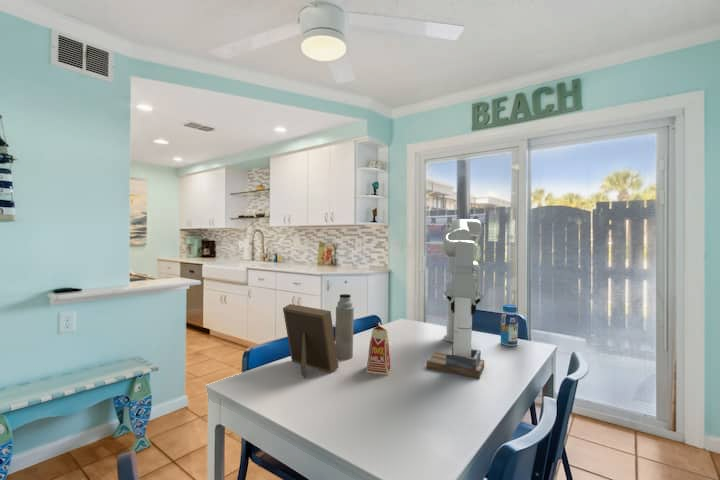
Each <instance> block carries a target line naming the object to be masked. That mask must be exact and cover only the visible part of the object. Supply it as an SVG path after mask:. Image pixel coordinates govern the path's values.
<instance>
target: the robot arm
mask: <svg viewBox="0 0 720 480" xmlns="http://www.w3.org/2000/svg"><path fill="white" fill-rule="evenodd" d="M482 230H483V227H482V222H481V221H480V220H478V219H475V218H470V219H469V218H458V219H455V220H454V221H453V222H452V224H451V226H450V227H448V228H446V229H445V231H444V237H443V239H442V240H443V241H442V252H443V255H444V256H446V257H448V273H449V276H450V277H451V280H450V281H448V282H447V283H446V284H445V291H444V292H443V294H444V296H445V297H446V334H445V335H444V336H443V337H442V339H443V340H444V341H446V342H448V343H452V344H454V305H455V297H462V298H471V301H472V312H471V314H472V316H474V315H475V314H476V313H477V304H479V303H480V302H481V301H482V300H483V299H484V298H485V295H484V294H483V293H482V292H481V266H480V264H479V262H478V261H475V256H476V255H477V252H478V244H477V243H478V242H479V240H480V238H481V235H482Z"/></svg>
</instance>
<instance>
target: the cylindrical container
mask: <svg viewBox="0 0 720 480" xmlns="http://www.w3.org/2000/svg"><path fill="white" fill-rule="evenodd" d="M472 304H473V303H472V301H471V298H462V297H455V305H454V343H453V345H452V347H453V355H457V356H463V357H469V358H471V349H472V333H473V330H472V329H473V328H472V327H473V315H472V314H471V312H472Z"/></svg>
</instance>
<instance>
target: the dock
mask: <svg viewBox="0 0 720 480" xmlns="http://www.w3.org/2000/svg"><path fill="white" fill-rule="evenodd" d="M484 369H485V359H481V350H479V349H473V348H471V358H469V357H463V356H457V355H453V346H452V347H451V354H450V353H443V352H437V351H435V352H434V353H433V354H432V355H431V356H430V357H429V358H428V359H427V361H426V370H432V371H436V372H442V373H447V374H454V375H459V376H464V377H468V378H474V379H480V378H481V376H482V373H483V371H484Z"/></svg>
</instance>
